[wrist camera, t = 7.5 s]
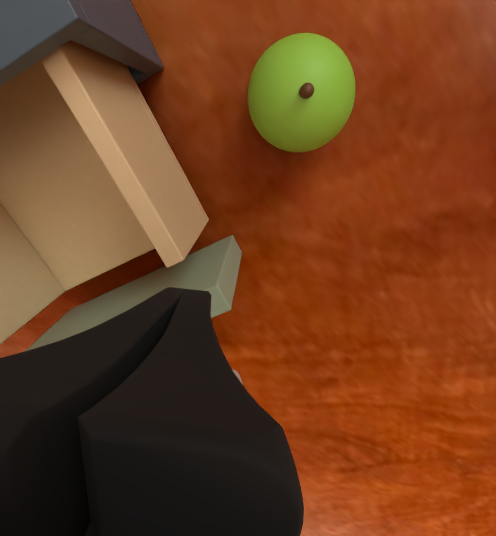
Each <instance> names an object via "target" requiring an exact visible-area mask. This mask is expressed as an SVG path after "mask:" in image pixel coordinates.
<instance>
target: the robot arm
mask: <svg viewBox="0 0 496 536" xmlns="http://www.w3.org/2000/svg"><path fill="white" fill-rule="evenodd" d="M211 297H212V295H211V294H210V293H209V291H202V290H193V289H183V288H174V287H168V288H166V289H164V290H162V291H160V292H158V293H157V294H155V295H153V296H152V297H150V298H148V299H146V300H145V301H143V302H141V303H139V304H138V305H136V306H134V307H132V308H131V309H129V310H127V311H125V312H123V313H121V314H119V315H117V316H115V317H113V318H111V319H109V320H107V321H105V322H103V323H101V324H99V325H97V326H95V327H93V328H90V329H88V330H86V331H83V332H81V333H78V334H76V335H73V336H71V337H68V338H65V339H63V340H60V341H57V342H54V343H51V344H47V345H44V346H41V347H38V348H35V349H31V350H28V351H25V352H22V353H18V354H15V355H11V356H7V357H3V358H0V536H300V534H301V530H302V525H303V515H304V507H303V498H302V492H301V487H300V483H299V478H298V474H297V470H296V466H295V463H294V460H293V457H292V453H291V450H290V447H289V444H288V442H287V439H286V436H285V433H284V431H283V428H282V427H281V426H280V424H279V423H277V422H276V421H275V420H274V419H273V418H272V417H271V416H270V415H269V414H268V413H267V412H266V411H265V410H264V409H263V408H262V407H260V406H259V405H258V403H257V402H256V401H255V400H254V399H253V398H252V396H251V395H250V394H249V393H248V392H247V390H246V389H245V387H244V386H243V385H242V383H241V382H240V380H239V379H238V378H237V376H236V375H235V373H234V372H233V370H232V368H231V367H230V365H229V363H228V361H227V360H226V358H225V356H224V354H223V352H222V349H221V347H220V345H219V342H218V340H217V337H216V334H215V331H214V328H213V324H212V320H211V315H210V314H211Z"/></svg>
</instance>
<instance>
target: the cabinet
mask: <svg viewBox="0 0 496 536" xmlns="http://www.w3.org/2000/svg"><path fill="white" fill-rule="evenodd" d="M70 40H72V41H74V42H77V43H79V44H81V45H83V46H86V47H88V48H90V49H92V50H94V51H97V52H99V53H101V54H103V55H106V56H108V57H110V58H112V59H114V60H117V61H119V62H121V63H123V64H126V65H127V67H128V69H129V71H130V73H131V75H132V77H133V78H134V80H135V82H136V84H139V83H141V82H142V81H144V80H146V79H147V78H149V77H151V76H152V75H154V74H156V73H157V72H159V71H161V70H162V69H164V67H163V65H162V63H161V61H160V59H159V57H158V55H157V53H156V51H155V49H154V47H153V45H152V43H151V41H150V39H149V37H148V35H147V33H146V31H145V29H144V27H143V25H142V23H141V21H140V19H139V17H138V15H137V13H136V11H135V9H134V7H133V5H132V3H131V1H130V0H0V86H2V85H3V84H5V83H6V82H8V81H9V80H11V79H12V78H14V77H15V76H17V75H18V74H20V73H21V72H23V71H24V70H26V69H27V68H29V67H30V66H32V65H33V64H35V63H36V62H38V61H39V60H41V59H42V58H44V57H45V56H47V55H48V54H50V53H52V52H53V51H55V50H56V49H58V48H59V47H61V46H62V45H64V44H65V43H67V42H68V41H70Z"/></svg>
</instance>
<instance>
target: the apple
mask: <svg viewBox="0 0 496 536" xmlns="http://www.w3.org/2000/svg"><path fill="white" fill-rule="evenodd" d="M355 90H356V88H355V78H354V73H353V69H352V66H351V64H350V62H349V60H348V58H347V56H346V55H345V53H344V52H343V51H342V50H341V49H340V47H339V46H337V45H336V44H335V43H334V42H332V41H331V40H329V39H328V38H325V37H323V36H321V35H317V34H312V33H298V34H294V35H290V36H287V37H284V38H282V39H280V40H279V41H277V42H275V43H274V44H273V45H271V46H270V47H269V48H268V49H267V50H266V51H265V52H264V53H263V55H262V56H261V57H260V58H259V60H258V62H257V63H256V65H255V67H254V69H253V71H252V74H251V77H250V81H249V86H248V108H249V112H250V116H251V119H252V121H253V124H254V125H255V127H256V129H257V131H258V132H259V133H260V135H261V136H262V137H263V138H264V139H265V140H266V141H267V142H269V143H270V144H271V145H273V146H275V147H277V148H279V149H282V150H285V151H289V152H307V151H311V150H314V149H317V148H319V147H322V146H323V145H325V144H327V143H328V142H330V141H331V140H332V139H333V138H334V137H335V136H336V135H337V134H338V133H339V132H340V131H341V130H342V128H343V127H344V125H345V124H346V122H347V120H348V118H349V116H350V114H351V111H352V108H353V105H354V100H355Z"/></svg>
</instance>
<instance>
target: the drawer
mask: <svg viewBox="0 0 496 536" xmlns="http://www.w3.org/2000/svg"><path fill="white" fill-rule="evenodd" d="M208 221H209V218H208V217H207V215H206V213H205V211H204V209H203V207H202V205H201V204H200V202H199V200H198V198H197V196H196V194H195V192H194V190H193V189H192V187H191V185H190V183H189V181H188V179H187V177H186V176H185V174H184V172H183V170H182V168H181V166H180V164H179V162H178V161H177V159H176V157H175V155H174V153H173V151H172V149H171V147H170V146H169V144H168V142H167V140H166V138H165V136H164V134H163V133H162V131H161V129H160V127H159V125H158V123H157V121H156V119H155V118H154V116H153V114H152V112H151V110H150V108H149V106H148V105H147V103H146V101H145V99H144V97H143V95H142V93H141V91H140V90H139V88H138V86H137V84H136V82H135V80H134V78H133V77H132V75H131V73H130V71H129V69H128V67H127V65H126V64H123V63H121V62H119V61H117V60H114V59H112V58H110V57H108V56H106V55H103V54H101V53H99V52H97V51H94V50H92V49H90V48H88V47H86V46H83V45H81V44H79V43H77V42H74V41H72V40H70V41H68V42H67V43H65V44H64V45H62V46H61V47H59V48H58V49H56V50H55V51H53V52H52V53H50V54H48V55H47V56H45V57H44V58H42V59H41V60H39V61H38V62H36V63H35V64H33V65H32V66H30V67H29V68H27V69H26V70H24V71H23V72H21V73H20V74H18V75H17V76H15V77H14V78H12V79H11V80H9V81H8V82H6V83H5V84H3V85H2V86H0V344H1V343H3V342H4V341H5V340H6V339H8V338H9V337H10V336H11V335H12V334H14V333H15V332H16V331H17V330H19V329H20V328H21V327H22V326H24V325H25V324H26V323H27V322H28V321H30V320H31V319H32V318H33V317H35V316H36V315H37V314H38V313H39V312H41V311H42V310H43V309H44V308H46V307H47V306H48V305H49V304H51V303H52V302H53V301H54V300H55V299H57V298H58V297H59V296H60V295H62V294H63V293H64V292H65V291H67V290H69V289H71V288H73V287H75V286H77V285H80V284H82V283H84V282H86V281H88V280H90V279H92V278H94V277H96V276H98V275H101V274H103V273H105V272H107V271H109V270H111V269H113V268H115V267H117V266H119V265H122V264H124V263H126V262H128V261H130V260H132V259H134V258H136V257H138V256H140V255H143V254H145V253H147V252H149V251H151V250H153V249H156V251H157V253H158V254H159V256H160V257H161V259H162V261H163V262H164V264H165V266H163V267H161V268H159V269H157V270H155V271H152V272H150V273H148V274H146V275H144V276H142V277H139V278H137V279H135V280H133V281H131V282H129V283H126V284H124V285H122V286H120V287H118V288H116V289H113V290H111V291H109V292H107V293H105V294H103V295H100V296H98V297H96V298H94V299H92V300H90V301H87V302H85V303H83V304H81V305H79V306H77V307H74V308H72V309H70V310H69V311H68V312H67V313H66V314H65V315H63V316H62V317H61V318H60V319H59V320H58V321H57V322H56V323H55V324H54V325H53V326H52V327H50V328H49V329H48V330H47V331H46V332H45V333H44V334H43V335H42V336H41V337H40V338H39V339H37V340H36V341H35V342H34V343H33V344H32V345H31V346H30V347H29V348H28V349H27V350H26V351H28V350H31V349H35V348H38V347H41V346H44V345H47V344H51V343H54V342H57V341H60V340H63V339H65V338H68V337H71V336H73V335H76V334H78V333H81V332H83V331H86V330H88V329H90V328H93V327H95V326H97V325H99V324H101V323H103V322H105V321H107V320H109V319H111V318H113V317H115V316H117V315H119V314H121V313H123V312H125V311H127V310H129V309H131V308H132V307H134V306H136V305H138V304H139V303H141V302H143V301H145V300H146V299H148V298H150V297H152V296H153V295H155V294H157V293H158V292H160V291H162V290H164V289H166V288H168V287H174V288H183V289H193V290H202V291H209V293H210V294H211V295H212V297H211V314H210V315H211V318H212V317H215V316H217V315H220V314H222V313H225V312H227V311H229V310H231V307H232V302H233V297H234V292H235V287H236V282H237V276H238V271H239V266H240V261H241V256H242V251H241V249H240V247H239V246H238V244H237V242H236V240H235V238H234V236H233V235H231V236H228V237H226V238H224V239H222V240H220V241H218V242H215V243H213V244H211V245H209V246H207V247H205V248H202V249H200V250H198V251H196V252H194V253H192V254H189V255H188V253H189V252H190V250H191V248H192V247H193V245H194V243H195V242H196V240H197V239H198V237H199V235H200V234H201V232H202V231H203V229H204V227H205V226H206V224H207V222H208ZM232 370H233V372H234V373H235V375H236V376H237V378H238V379H239V380H240V382H241V383H242V381H241V378H240V376H239V374H238V373H237V371H236V370H234V369H232Z"/></svg>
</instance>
